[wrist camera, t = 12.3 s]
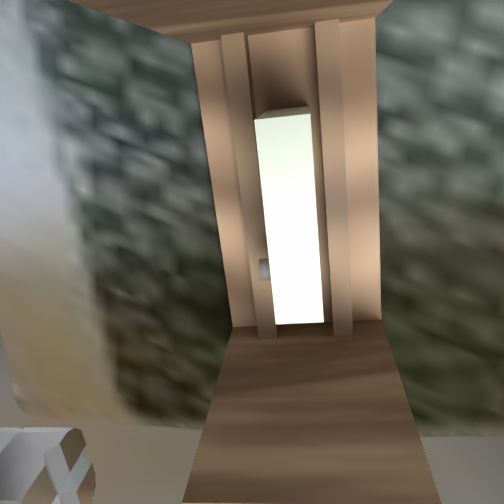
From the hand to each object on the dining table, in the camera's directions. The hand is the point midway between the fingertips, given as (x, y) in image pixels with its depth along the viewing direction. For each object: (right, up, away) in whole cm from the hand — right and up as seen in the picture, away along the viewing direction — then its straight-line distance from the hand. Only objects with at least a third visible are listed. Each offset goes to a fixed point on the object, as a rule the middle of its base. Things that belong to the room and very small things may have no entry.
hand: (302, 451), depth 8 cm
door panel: (+2, +7, +19) cm, 21 cm away
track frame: (+2, +7, +20) cm, 22 cm away
